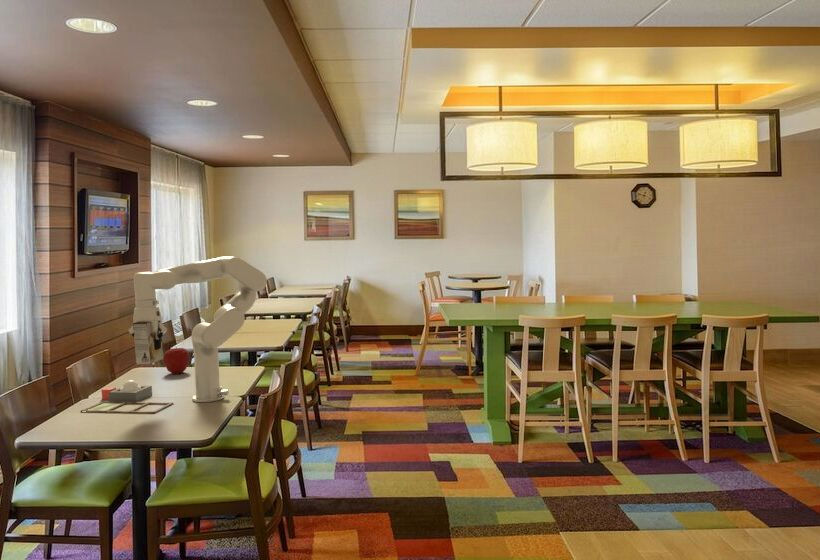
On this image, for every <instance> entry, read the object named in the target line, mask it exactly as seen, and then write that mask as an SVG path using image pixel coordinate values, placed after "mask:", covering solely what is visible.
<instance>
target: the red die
mask: <svg viewBox="0 0 820 560" xmlns="http://www.w3.org/2000/svg"><path fill="white" fill-rule="evenodd" d="M116 389H117V387H111V386H110V387H105V388H102V389H101V400H109V392H111V391H113V390H116Z"/></svg>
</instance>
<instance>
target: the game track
mask: <svg viewBox="0 0 820 560" xmlns="http://www.w3.org/2000/svg"><path fill="white" fill-rule="evenodd" d="M148 404H149V405H154V404H164V405H162V407H159V408H158V409H155V410H153V411H151V410H150V411H149V410H148V411H147V410H140V409H143V408H144V406H145V407H147V406H148ZM172 404H173V405H174V402H163V401H162V402H155V401H153V402H151V401H150V402H149V401H147V402H146V401H138V402H109V401H101V402H99V403H96V404H93V405H91V406H89V407H87V408H83V409H81V410H80V412H81V411H86V412H85V413H94V412H106V413H107V414H144V413H147V414H148V415H150V414H151V415H153V414H157V413H159V412H161V411H163V410H164V409H167V408H169V407H170V406H172ZM125 405H139V406H137V407H134V408H133V409H131V410H117V409H118V408H121V407H122V406H125ZM146 405H147V406H146ZM142 407H143V408H142ZM88 409H89V410H88ZM111 410H112V411H111ZM106 413H105V414H106Z"/></svg>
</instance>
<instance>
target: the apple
mask: <svg viewBox="0 0 820 560" xmlns="http://www.w3.org/2000/svg"><path fill="white" fill-rule="evenodd" d="M163 357H164V359H163V362H164V365H165V367H166V370H167V371H168V372H169V373H171V374H172V375H180V374H179V373H181V374H183V373H184V372H185V371H186V369H187V367H188V364H189V358H190V354H189V351H188V350H187V349H186V348H184V347H175V348H170V349H167V350H166V351H165V352H164V353H163Z"/></svg>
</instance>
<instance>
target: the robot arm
mask: <svg viewBox="0 0 820 560" xmlns="http://www.w3.org/2000/svg"><path fill="white" fill-rule="evenodd" d="M228 277H229V278H230V277H231V278H233V279H234V280H235V281H237V284H238V287H237V288H238V289H237V292H236V293H235V294H234V295H233V297H232V296H231V298H230V299H229V300H228V301H226V302H225V303H224V304H223V305H221V306H220V307H219V308H218V309H217V310H216V311H215V312H214V314H213V321H212V323H210V322H203V321H202V322H200V323H197V324H196V325H195V326H194V327H193V329H192V332H191V343H192V348H193V358H194V361H193V363H194V380H195V381H194V383H195V384H194V385H195V395H193V396H192V397H191V400H192V401H193V402H195V403H210V402H218V401H220V400H223V399H224V398H225V396H229V394H230V392H229V389H223V386H221V385H220V384H221V383H220V366H219V365H220V363H219V361H220V360H219V359H220V357H219V349H218V348H219V347H221V346H222V345H223V344H224V343H225V342H227V341H229V339H230V338H231V337H233V336H234V335H235V334H236V333H237V332H238V331H239V330H241V328H242V327H243V326H244V322H245V314H246V313H247V312H248V311H249V310H250V309H251V308H252V307H253V305H254V304H255V303H256V298H257V292H259V291H263V289H265V287H266V286H267V284H268V282H267V281H268V280H267V277H266V275H265V273H264V272H263V271H261V270H260V269H258V268H256V267H255V266H253V265H251V264H250V263H248V262H247V261H245V260H244V259H242V258H240V257H239V256H238V257H237V256H233V255H232V256H229V255H228V256H219V257H216V258H211V259H207V260H201V261H200V260H199V261H195V262H191V263H187V264H182V265H176V266H172V267H167V268H161V269H158V270H155V271H154V272H152V271H139V272H135V273H134V275H133V287H134V299H135V303H134V304H135V307H134V310H133V315H132V316H133V317H132V319H133V320H132V325H131V327H130V328H128V331H127V332H129V334H130V335H131V336H132V337H133V338H134V329H133V323H135V322H151V325H152V332H153V333H154V337H155V339H156V340H154V345H155V350H158V349H161V338H162V339H163V337H164V335H165V334H166V333H167V332H168V328H167V327H166V326H165V325H164V324H163V318H162V314H161V310H160V307H159V306H157V305H159V304H160V301H159V300H157V296H156V294H157V292H156V290H165V291H167V290H171V289H173V288H175V286H177V285H184V284H201V283H206V282H210V281H214V280H219V279H220V280H221V279H225V278H228ZM159 331H161V333H160V332H159Z"/></svg>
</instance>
